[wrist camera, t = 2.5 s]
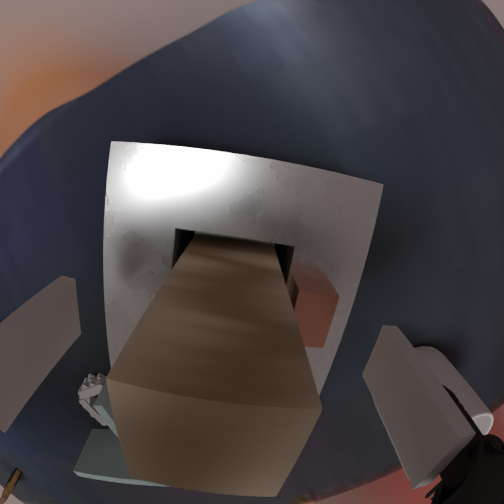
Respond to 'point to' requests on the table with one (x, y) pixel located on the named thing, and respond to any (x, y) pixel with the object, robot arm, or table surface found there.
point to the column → (216, 375)
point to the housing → (235, 232)
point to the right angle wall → (102, 438)
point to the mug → (454, 389)
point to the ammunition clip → (10, 485)
